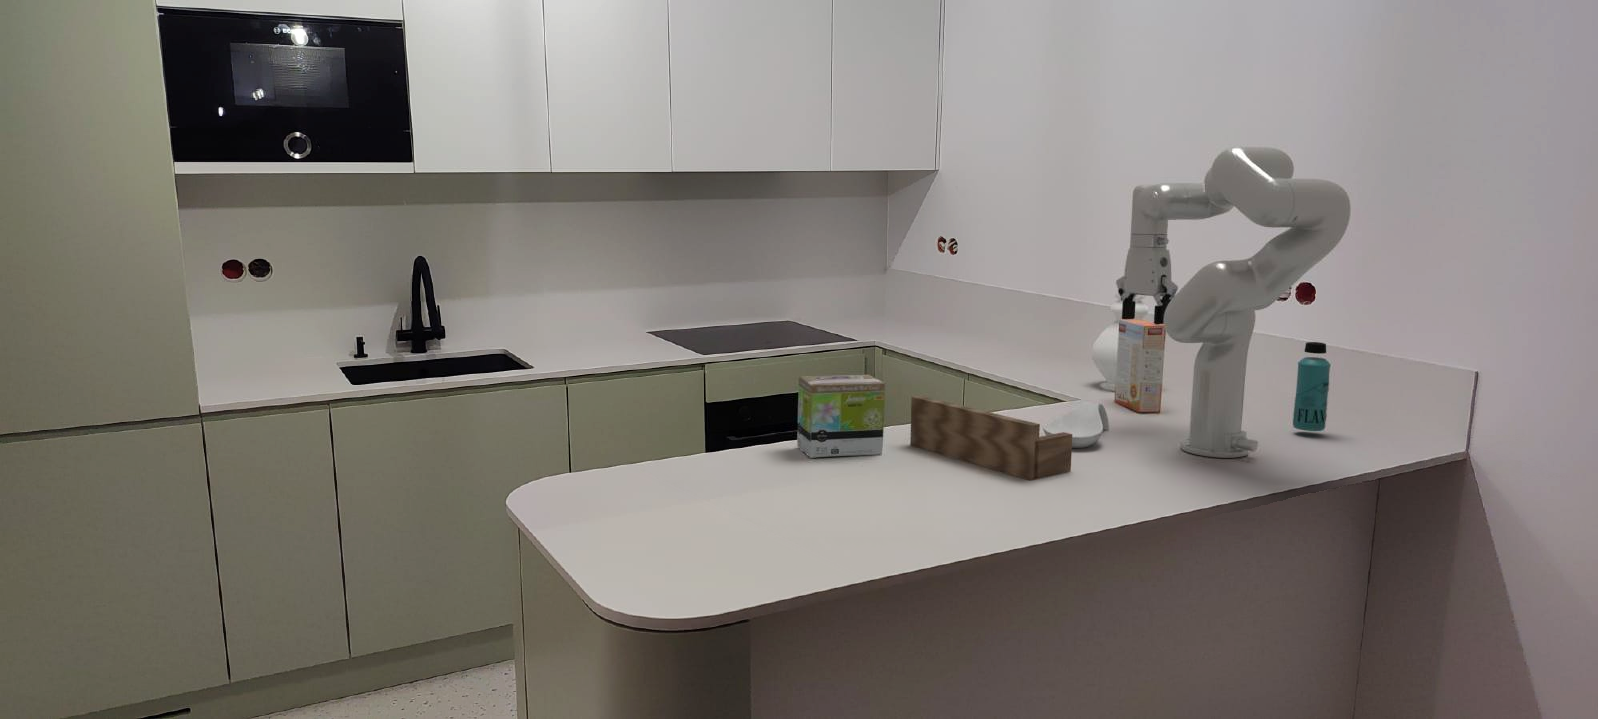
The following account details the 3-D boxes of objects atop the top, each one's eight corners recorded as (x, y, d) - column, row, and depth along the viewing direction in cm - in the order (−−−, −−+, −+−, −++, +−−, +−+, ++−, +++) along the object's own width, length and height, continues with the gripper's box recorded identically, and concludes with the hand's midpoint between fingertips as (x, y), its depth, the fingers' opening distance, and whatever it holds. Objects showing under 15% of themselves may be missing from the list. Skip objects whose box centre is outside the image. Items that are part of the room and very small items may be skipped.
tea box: (810, 460, 198) (811, 384, 196) (796, 448, 208) (796, 375, 205) (884, 455, 202) (885, 380, 200) (867, 443, 212) (868, 372, 209)
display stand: (1070, 471, 191) (1073, 418, 189) (1029, 480, 184) (1032, 425, 183) (949, 437, 217) (951, 391, 215) (910, 445, 210) (911, 396, 209)
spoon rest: (1091, 455, 203) (1093, 420, 202) (1034, 447, 210) (1035, 413, 209) (1124, 433, 223) (1125, 400, 222) (1070, 426, 229) (1072, 394, 228)
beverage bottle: (1290, 436, 220) (1298, 343, 217) (1292, 430, 226) (1299, 339, 223) (1324, 439, 217) (1333, 345, 214) (1325, 433, 223) (1333, 341, 220)
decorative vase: (1130, 380, 286) (1135, 290, 282) (1175, 391, 270) (1181, 296, 266) (1076, 384, 280) (1080, 292, 276) (1119, 396, 263) (1124, 298, 259)
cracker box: (1162, 413, 243) (1167, 324, 240) (1137, 413, 242) (1142, 325, 239) (1136, 401, 257) (1141, 317, 253) (1113, 401, 256) (1118, 318, 253)
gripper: (1191, 244, 217) (1186, 325, 219) (1133, 241, 232) (1129, 316, 235) (1164, 244, 214) (1160, 326, 216) (1107, 241, 229) (1103, 318, 232)
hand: (1143, 321), depth 226 cm, fingers open, 9 cm apart
